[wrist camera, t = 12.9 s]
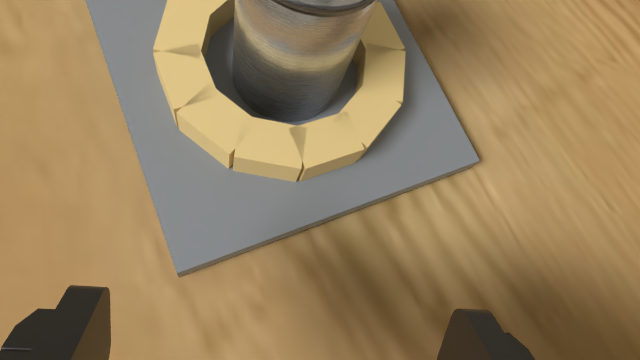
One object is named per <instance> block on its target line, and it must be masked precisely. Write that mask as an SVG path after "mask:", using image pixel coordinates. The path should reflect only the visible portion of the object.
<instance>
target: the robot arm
mask: <svg viewBox="0 0 640 360" xmlns="http://www.w3.org/2000/svg"><path fill="white" fill-rule="evenodd" d="M110 346H111V326H110V292H109V289H108V288H107V287H92V286H75V285H71V286H69V287H68V289H67V290H66V292H65V293H64V295H63V297H62V299H61V300H60V302H59V304H58V305H57V307H56V309H37V310H36V311H34V312H33V313H32V314H30V315H29V316H28V317H26V318H25V319H24V320H22V321H21V322H20V323H18V324H17V325H16V326H15V327H14V329H13V330H12V332H11V333H10V335H9V336H8V338H7V339H6V341H5V342H4V344H3V345H2V348H1V351H0V360H109V354H110ZM437 360H535V359H534V357H533V356H532V355H531V353H530V352H529V350H528V349H527V348H526V347H525V346H524V345H523V344H521V343H520V342H519V341H518V340H517V339H516V338H514V337H513V336H512V335H511V334H510V333H504V332H503V330H502V329H501V327H500V326H499V324H498V322H497V321H496V319H495V318H494V316H493V315H492V314H491V313H490V312H489V311H487V310H475V309H456V310H455V311H454V312H453V314H452V316H451V319H450V322H449V325H448V328H447V331H446V334H445V336H444V339H443V342H442V345H441V348H440V351H439V354H438V358H437Z"/></svg>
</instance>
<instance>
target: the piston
mask: <svg viewBox="0 0 640 360" xmlns="http://www.w3.org/2000/svg"><path fill="white" fill-rule="evenodd" d="M377 1H378V0H235V11H234V35H233V59H232V77H233V82H234V85H235V88H236V90H237V92H238V94H239V95H240V97H241V98H242V100H243V101H244V102H245V103H246V104H247V105H248V106H249V107H250V108H251V109H252V110H254V111H255V112H257V113H258V114H260V115H262V116H264V117H267V118H269V119H272V120H276V121H281V122H300V121H305V120H308V119H311V118H313V117H315V116H317V115H319V114H320V113H322V112H323V111H324V110H325V109H326V108H328V107H329V105H330V104H331V103H332V101H333V99H334V97H335V95H336V93H337V91H338V89H339V86H340V84H341V82H342V80H343V77H344V75H345V73H346V71H347V68H348V66H349V64H350V62H351V59H352V57H353V55H354V53H355V50H356V48H357V46H358V44H359V41H360V39H361V37H362V35H363V32H364V30H365V28H366V26H367V23H368V21H369V19H370V17H371V14H372V12H373V10H374V8H375V5H376V3H377Z"/></svg>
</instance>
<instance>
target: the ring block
mask: <svg viewBox="0 0 640 360" xmlns="http://www.w3.org/2000/svg"><path fill="white" fill-rule="evenodd" d="M86 3H87V6H88V9H89V12H90V15H91V18H92V21H93V24H94V27H95V30H96V33H97V36H98V39H99V42H100V45H101V48H102V51H103V54H104V57H105V60H106V63H107V66H108V69H109V72H110V75H111V78H112V81H113V84H114V87H115V90H116V93H117V96H118V99H119V102H120V105H121V108H122V111H123V114H124V117H125V120H126V123H127V126H128V129H129V132H130V135H131V138H132V141H133V144H134V147H135V149H136V152H137V155H138V158H139V161H140V164H141V167H142V170H143V173H144V176H145V179H146V182H147V185H148V188H149V191H150V194H151V197H152V200H153V203H154V206H155V209H156V212H157V215H158V218H159V221H160V224H161V227H162V230H163V233H164V236H165V239H166V242H167V245H168V248H169V251H170V254H171V257H172V260H173V263H174V266H175V269H176V272H177V274H178V276H179V277H181V276H184V275H187V274H189V273H192V272H195V271H197V270H200V269H203V268H205V267H208V266H211V265H213V264H216V263H219V262H221V261H224V260H227V259H229V258H232V257H235V256H237V255H240V254H243V253H245V252H248V251H251V250H253V249H256V248H259V247H261V246H264V245H267V244H269V243H272V242H275V241H277V240H280V239H283V238H285V237H288V236H291V235H293V234H296V233H299V232H301V231H304V230H307V229H309V228H312V227H315V226H317V225H320V224H323V223H325V222H328V221H331V220H333V219H336V218H339V217H341V216H344V215H347V214H349V213H352V212H355V211H357V210H360V209H363V208H365V207H368V206H371V205H373V204H376V203H379V202H381V201H384V200H387V199H389V198H392V197H395V196H397V195H400V194H402V193H405V192H408V191H410V190H413V189H416V188H418V187H421V186H424V185H426V184H429V183H432V182H434V181H437V180H440V179H442V178H445V177H448V176H450V175H453V174H456V173H458V172H461V171H464V170H466V169H469V168H471V167H472V166H473V165H475V164H476V163H477V162H479V161H480V160H479V158H478V156H477V154H476V152H475V150H474V148H473V147H472V145H471V143H470V141H469V139H468V137H467V135H466V134H465V132H464V130H463V128H462V126H461V124H460V122H459V121H458V119H457V117H456V115H455V113H454V111H453V109H452V107H451V106H450V104H449V102H448V100H447V98H446V96H445V94H444V93H443V91H442V89H441V87H440V85H439V83H438V81H437V80H436V78H435V76H434V74H433V72H432V70H431V68H430V66H429V65H428V63H427V61H426V59H425V57H424V55H423V53H422V52H421V50H420V48H419V46H418V44H417V42H416V40H415V39H414V37H413V35H412V33H411V31H410V29H409V27H408V26H407V24H406V22H405V20H404V18H403V16H402V14H401V12H400V11H399V9H398V7H397V5H396V3H395V1H394V0H378V1H377V3H376V5H375V8H374V10H373V12H372V14H371V17H370V19H369V21H368V23H367V26H366V28H365V30H364V32H363V35H362V37H361V39H360V41H359V44H358V46H357V48H356V50H355V53H354V55H353V57H352V59H351V62H350V64H349V66H348V68H347V71H346V73H345V75H344V77H343V80H342V82H341V84H340V86H339V89H338V91H337V93H336V95H335V97H334V99H333V101H332V103H331V104H330V105H329V107H328V108H326V109H325V110H324V111H323V112H322V113H320V114H319V115H317V116H315V117H313V118H311V119H308V120H305V121H300V122H281V121H276V120H272V119H269V118H267V117H264V116H262V115H260V114H258V113H257V112H255V111H254V110H252V109H251V108H250V107H249V106H248V105H247V104H246V103H245V102H244V101H243V100H242V98H241V97H240V95H239V94H238V92H237V90H236V88H235V85H234V82H233V77H232V59H233V35H234V11H235V0H86Z"/></svg>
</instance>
